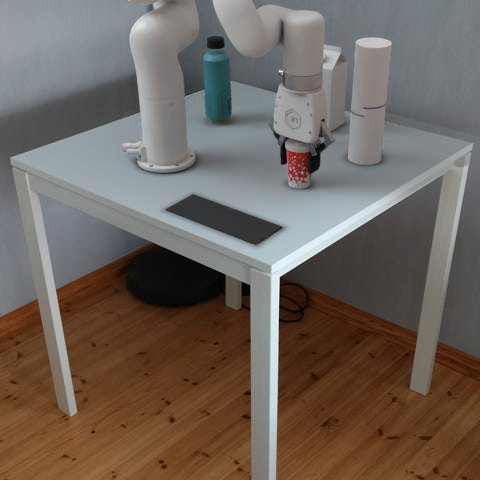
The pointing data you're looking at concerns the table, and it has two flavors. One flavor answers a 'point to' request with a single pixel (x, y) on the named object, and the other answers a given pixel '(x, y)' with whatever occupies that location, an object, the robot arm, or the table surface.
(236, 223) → the mat
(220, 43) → the beverage bottle
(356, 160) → the cylindrical container
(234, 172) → the table surface
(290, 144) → the beverage cup
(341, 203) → the table surface
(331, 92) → the milk carton
